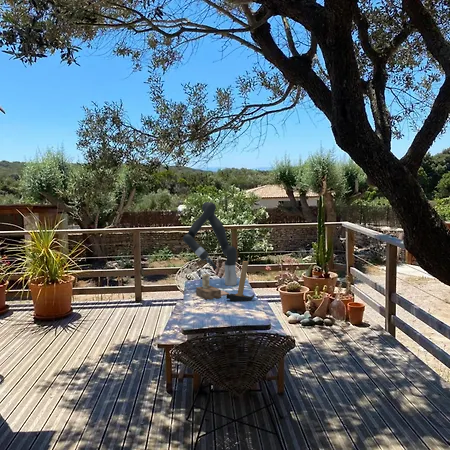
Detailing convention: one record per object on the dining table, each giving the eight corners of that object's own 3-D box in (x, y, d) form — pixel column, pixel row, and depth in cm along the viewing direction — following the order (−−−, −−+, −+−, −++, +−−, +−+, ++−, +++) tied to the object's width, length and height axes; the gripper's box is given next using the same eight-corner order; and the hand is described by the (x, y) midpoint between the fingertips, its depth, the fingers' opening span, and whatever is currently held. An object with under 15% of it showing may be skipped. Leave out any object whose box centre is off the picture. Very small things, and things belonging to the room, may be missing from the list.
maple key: (207, 294, 334) (206, 274, 332) (209, 295, 330) (209, 275, 329) (202, 295, 332) (202, 274, 330) (205, 296, 328) (204, 275, 327)
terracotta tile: (221, 291, 342) (221, 290, 342) (229, 294, 332) (229, 293, 331) (213, 292, 338) (213, 291, 338) (220, 296, 328) (220, 294, 328)
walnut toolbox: (210, 293, 338) (210, 285, 338) (220, 297, 322) (220, 289, 322) (196, 295, 332) (196, 287, 332) (206, 300, 317) (206, 292, 316)
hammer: (252, 302, 316) (259, 263, 314) (253, 304, 311) (260, 264, 309) (226, 298, 315) (232, 258, 313) (226, 299, 310) (232, 259, 308)
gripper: (204, 249, 336) (219, 264, 334) (206, 251, 350) (219, 265, 348) (197, 256, 335) (212, 270, 333) (199, 257, 349) (213, 271, 347)
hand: (216, 268), depth 340 cm, fingers open, 8 cm apart
